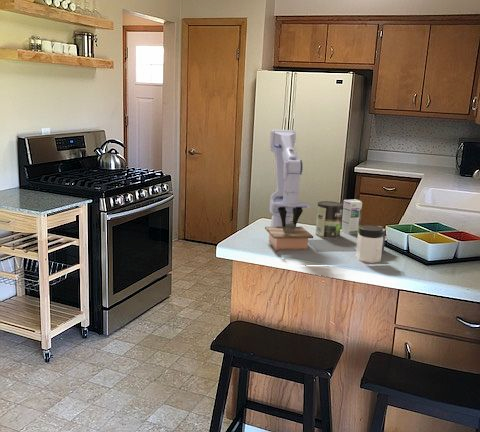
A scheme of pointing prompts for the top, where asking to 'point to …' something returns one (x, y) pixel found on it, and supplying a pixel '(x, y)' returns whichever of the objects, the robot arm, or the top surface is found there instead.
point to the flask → (383, 238)
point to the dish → (288, 243)
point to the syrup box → (351, 216)
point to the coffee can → (329, 219)
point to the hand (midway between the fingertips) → (288, 226)
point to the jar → (369, 243)
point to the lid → (288, 231)
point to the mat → (330, 245)
